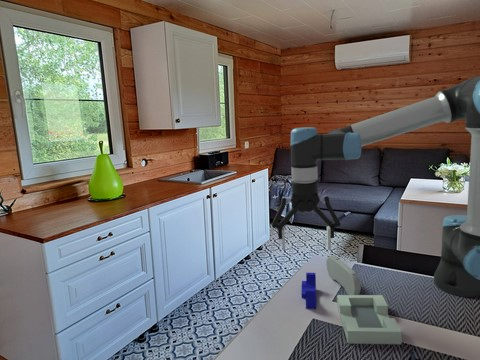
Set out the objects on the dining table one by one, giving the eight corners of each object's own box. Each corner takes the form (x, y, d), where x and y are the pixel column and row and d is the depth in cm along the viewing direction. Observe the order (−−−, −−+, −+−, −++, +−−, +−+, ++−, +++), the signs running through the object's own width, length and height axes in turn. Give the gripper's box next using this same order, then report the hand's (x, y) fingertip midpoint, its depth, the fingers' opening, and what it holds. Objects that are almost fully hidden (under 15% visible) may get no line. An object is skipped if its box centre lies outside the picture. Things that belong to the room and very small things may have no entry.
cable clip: (302, 289, 118) (301, 272, 117) (315, 289, 117) (315, 272, 116) (300, 308, 107) (300, 290, 106) (316, 309, 106) (315, 291, 105)
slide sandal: (361, 300, 109) (361, 275, 108) (354, 301, 109) (354, 276, 107) (332, 273, 128) (331, 251, 126) (326, 274, 128) (325, 252, 126)
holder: (382, 305, 105) (382, 295, 105) (401, 344, 88) (401, 331, 88) (337, 305, 107) (337, 295, 106) (347, 343, 90) (347, 331, 89)
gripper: (345, 176, 107) (345, 243, 111) (262, 179, 110) (265, 244, 114) (350, 181, 99) (350, 252, 103) (261, 184, 102) (264, 253, 106)
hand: (306, 248), depth 109 cm, fingers open, 13 cm apart
